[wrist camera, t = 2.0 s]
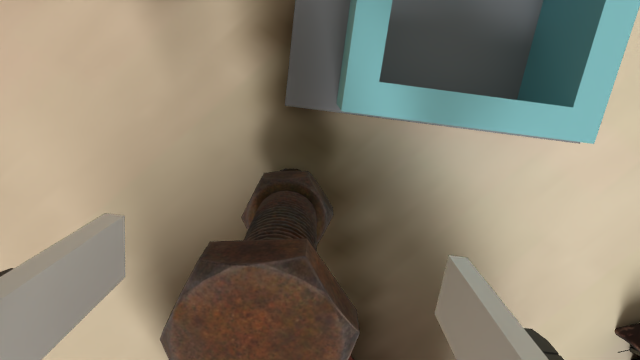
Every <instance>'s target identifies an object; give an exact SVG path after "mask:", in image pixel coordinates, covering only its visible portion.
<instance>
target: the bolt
mask: <svg viewBox="0 0 640 360" xmlns="http://www.w3.org/2000/svg"><path fill="white" fill-rule="evenodd" d="M332 216H333V207H332V205H331V204H330V202H329V200H328V198H327V197H326V195H325V193H324V192H323V190H322V189H321V187H320V186H319V184H318V183H317V181H316V180H315V179H314V177H313V176H312V175H311V173H310V172H309V171H301V170H298V169H283V170H280V171H277V172H269V173H264V174H263V176H262V178H261V180H260V181H259V183H258V185H257V187H256V189H255V191H254V193H253V195H252V197H251V199H250V201H249V203H248V205H247V207H246V209H245V211H244V213H243V215H242V217H241V218H242V220H243V222H244V224H245V226H246V228H247V229H248V230H247V233H246V237H245V239H244V240H243V241H217V242H210V243H209V244H208V246H207V247H206V249H205V250H204V252H203V254H202V255H201V257H200V258H199V260H198V262H197V264H196V265H195V267H194V269H193V271H192V273H191V275H190V277H189V278H188V280H187V282H186V284H185V286H184V288H183V290H182V292H181V294H180V296H179V298H178V300H177V302H176V304H175V306H174V308H173V311H172V313H171V315H170V317H169V319H168V321H167V323H166V325H165V327H164V330H163V332H162V335H161V337H160V341H161V343H162V345H163V347H164V350H165V352H166V354H167V356H168V358H169V360H348V359H349V357H350V355H351V353H352V350H353V348H354V346H355V343H356V341H357V338H358V336H359V334H360V330H359V323H358V317H357V310H356V308H355V307H354V306H353V304H352V303H351V301H350V300H349V298H348V297H347V295H346V294H345V293H344V291H343V290H342V288H341V287H340V285H339V284H338V282H337V281H336V280H335V278H334V277H333V275H332V274H331V272H330V271H329V269H328V268H327V266H326V265H325V264H324V262H323V261H322V259H321V258H320V256H319V255H318V253H317V250H316V249H317V244H318V243H319V241H320V239H321V238H322V236H323V234H324V232H325V231H326V229H327V227H328V225H329V223H330V221H331V219H332Z"/></svg>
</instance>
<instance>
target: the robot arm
mask: <svg viewBox="0 0 640 360" xmlns="http://www.w3.org/2000/svg"><path fill="white" fill-rule="evenodd" d="M124 278H125V217H124V215H117V214H109V213H105V214H103V215H101V216H100V217H98V218H96V219H95V220H93V221H91V222H90V223H88V224H86V225H85V226H83V227H81V228H80V229H78V230H77V231H75V232H73V233H72V234H70V235H68V236H67V237H65V238H63V239H62V240H60V241H58V242H57V243H55V244H54V245H52V246H50V247H49V248H47V249H45V250H44V251H42V252H40V253H39V254H37V255H35V256H34V257H32V258H31V259H29V260H27V261H26V262H24V263H22V264H21V265H19V266H17V267H16V268H10V269H7V270H5V271H2V272H0V360H42V359H43V358H44V357H45V356H46V355H47V354H48V353H49V352H50V351H51V350H52V349H53V348H54V347H55V346H56V345H57V344H58V343H59V342H60V341H61V340H62V339H63V338H64V337H65V336H66V335H67V334H68V333H69V332H70V331H71V330H72V329H73V328H74V327H75V326H76V325H77V324H78V323H79V322H80V321H81V320H82V319H83V318H84V317H85V316H86V315H87V314H88V313H89V312H90V311H91V310H92V309H93V308H94V307H95V306H96V305H97V304H98V303H99V302H100V301H101V300H102V299H103V298H104V297H105V296H106V295H107V294H108V293H109V292H110V291H112V290H113V289H114V288H115V287H116V286H117V285H118V284H119V283H120V282H121V281H122V280H123V279H124ZM434 314H435V316H436V318H437V320H438V322H439V324H440V327H441V329H442V331H443V333H444V335H445V337H446V339H447V342H448V344H449V346H450V348H451V350H452V352H453V354H454V357H455V359H456V360H564V359H563V358H562V357H561V356H559V355H558V352H557V351H556V350H555V349H554V348H553V346H552V345H551V344H550V343H549V342H548V341H547V340H546V339H545V338H543V337H542V336H541V335H539V334H538V333H537V332H535V331H534V330H533V329H527V328H523V327H522V326H521V324H520V323H519V322H518V321H517V319H516V318H515V317H514V316H513V314H512V313H511V312H510V311H509V309H508V308H507V307H506V306H505V304H504V303H503V302H502V301H501V299H500V298H499V297H498V296H497V294H496V293H495V292H494V291H493V289H492V288H491V287H490V286H489V284H488V283H487V282H486V281H485V279H484V278H483V277H482V276H481V274H480V273H479V272H478V270H477V269H476V268H475V267H474V265H473V264H472V263H471V262H470V260H469V259H468V258H467V257H459V256H451V255H448V260H447V264H446V268H445V272H444V276H443V280H442V284H441V289H440V293H439V297H438V301H437V305H436V309H435V313H434Z"/></svg>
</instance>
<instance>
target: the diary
mask: <svg viewBox="0 0 640 360" xmlns="http://www.w3.org/2000/svg"><path fill="white" fill-rule="evenodd" d="M615 334H616V335H617V336H619V337H621V338H622V339H624V340H625V341H627V342H628V343H629V344H631V345H632V346H633V347H629V348H630V349H629V350H630V352H632V353H634V354H636V355H638V356H640V323H638V324H634V325H629V326H625V327H621V328H617V329H615ZM625 351H628V350H625ZM621 352H624V351H621ZM618 353H619V352H618ZM633 360H640V358H637V359H633Z"/></svg>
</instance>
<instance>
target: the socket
mask: <svg viewBox="0 0 640 360" xmlns="http://www.w3.org/2000/svg"><path fill="white" fill-rule="evenodd" d="M639 6H640V0H295V10H294V20H293V30H292V40H291V50H290V60H289V70H288V80H287V90H286V100H285V106H292V107H299V108H307V109H315V110H323V111H331V112H338V113H346V114H354V115H362V116H369V117H377V118H385V119H393V120H401V121H408V122H416V123H424V124H432V125H439V126H447V127H455V128H463V129H470V130H478V131H486V132H494V133H502V134H509V135H517V136H525V137H533V138H540V139H548V140H556V141H564V142H572V143H579V144H580V142H584V143H592V144H594V142H595V139H596V136H597V133H598V130H599V127H600V124H601V121H602V118H603V115H604V112H605V109H606V106H607V103H608V100H609V97H610V94H611V91H612V88H613V85H614V82H615V79H616V76H617V73H618V70H619V67H620V64H621V61H622V58H623V55H624V52H625V49H626V46H627V43H628V40H629V37H630V34H631V30H632V27H633V24H634V21H635V18H636V15H637V12H638V9H639Z"/></svg>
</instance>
